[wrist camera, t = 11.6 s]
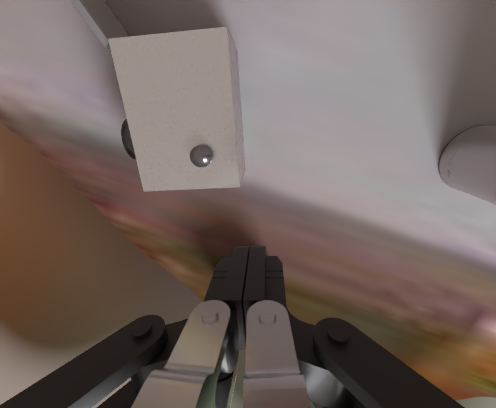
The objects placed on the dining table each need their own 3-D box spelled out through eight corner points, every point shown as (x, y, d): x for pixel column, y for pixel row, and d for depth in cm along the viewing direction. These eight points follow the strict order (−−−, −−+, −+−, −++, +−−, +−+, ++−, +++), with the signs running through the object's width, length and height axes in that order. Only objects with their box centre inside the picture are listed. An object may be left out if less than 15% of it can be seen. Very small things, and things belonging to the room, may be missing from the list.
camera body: (236, 49, 31) (225, 20, 21) (245, 170, 36) (238, 189, 27) (134, 58, 32) (81, 35, 22) (158, 174, 37) (123, 194, 28)
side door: (145, 58, 31) (109, 41, 24) (135, 67, 32) (97, 53, 25) (76, -40, 28) (11, -94, 21) (67, -29, 29) (-1, -78, 21)
